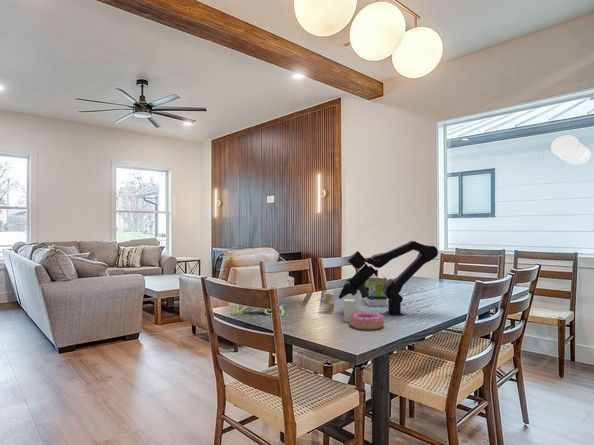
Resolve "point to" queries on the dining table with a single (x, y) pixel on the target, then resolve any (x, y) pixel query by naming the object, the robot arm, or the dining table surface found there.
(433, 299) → the dining table surface
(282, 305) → the figurine
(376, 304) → the tea box
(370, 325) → the donut
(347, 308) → the sage block
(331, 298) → the maple block
